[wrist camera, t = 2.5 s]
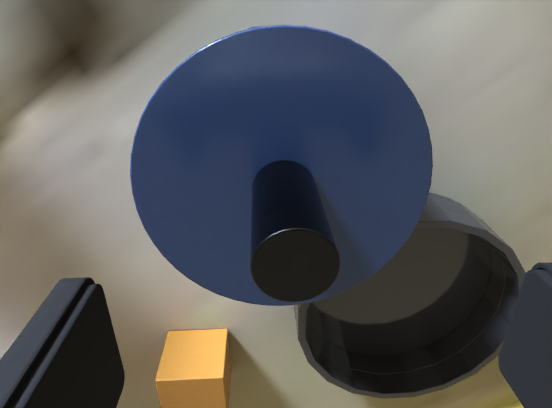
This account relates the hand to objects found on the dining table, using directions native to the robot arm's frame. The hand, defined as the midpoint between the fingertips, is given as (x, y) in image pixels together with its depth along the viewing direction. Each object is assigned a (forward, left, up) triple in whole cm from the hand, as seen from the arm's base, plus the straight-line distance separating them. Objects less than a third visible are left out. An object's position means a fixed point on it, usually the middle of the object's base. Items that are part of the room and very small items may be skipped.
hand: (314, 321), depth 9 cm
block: (+18, -6, -16) cm, 25 cm away
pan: (+12, +8, -16) cm, 22 cm away
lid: (0, 0, -7) cm, 7 cm away
